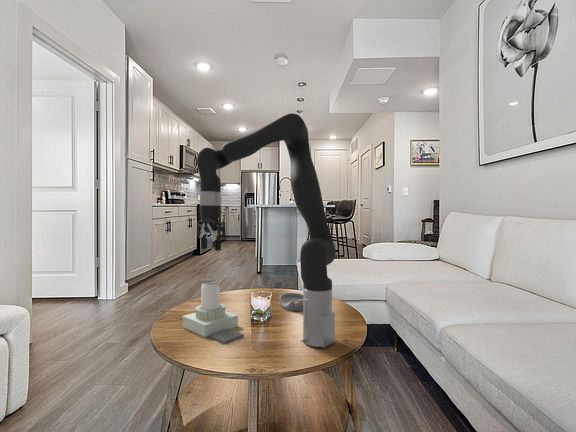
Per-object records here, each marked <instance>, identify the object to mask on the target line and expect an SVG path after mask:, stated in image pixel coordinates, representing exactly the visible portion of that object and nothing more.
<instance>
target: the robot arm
mask: <svg viewBox="0 0 576 432" xmlns="http://www.w3.org/2000/svg"><path fill="white" fill-rule="evenodd" d="M309 140H310V139H309V129H308V126H307V125H306V123H305V120H304V119H303V117H302V116H300V115H299V114H297V113H287V114H284V115H283V116H281V117H279V118H277V119H275V120H274V121H271V122H270V123H269V124H267V125H265V126H262V127H261V128H259V129H257V130H255V131H253V132H251V133H249V134H247V135H243V136H241V137H238V138H236V139H232V140H230V141H228V142H225V143H224V144H223V145H222V148H219V149H217V150H215V149H213V148H211V147H203V148H201V149H200V150H199V151H198V153H197V157H196V164H197V169H198V174H199V179H200V196H199V218H202V220H197V221H196V237H199V239H200V249H201V250H206V249H208V238H207V237H208V236H209V235H210V234H211V235H212V236H213V239H214V246H213V247H214V248H213V249H214V251H216V252H217V251H218V252H219V251H221V250H222V240H223V239H225V238H226V221H225V220H219V219H221V218H222V194H221V192H222V191H221V188H222V187H221V178H220V177H219V176H218V174H217V170H219V169H223V168H225V167H226V166H229V165H230V164H231V163H233V162H236V161H239V160H243V159H246V158H249V157H250V156H252V155H254V154H256V153H257V152H258V151H260V150H261V149H263V148H265V147H266V146H268V145H271V144H273V143H277V142H281V141H283V142H284V144H285V145H286V149H287V152H288V155H289V160H290V186H291V191H292V194H293V199H294V203H295V205H296V208H297V210H298V211H299V213H300V215H301V216H302V218H303V220H304V221H305V224H306V227H307V229H308V233H309V239H307V240H306V241H305V242H304V243H303V244H302V245H301V249H300V253H299V254H300V256H299V257H300V260H299V261H300V277H301V281H302V283H303V285H302V286H303V291H302V292H303V294H302V295H303V311H302V319H303V321H302V324H303V327H302V330H303V333H302V335H303V336H302V337H303V338H302V341H303V342H302V343H304V344H306V345H307V346H311V347H315V348H326V347H328V346H330V345H332V344H334V343H335V342H336V341H335V335H336V333H335V331H336V329H335V325H336V324H335V321H336V319H335V318H336V317H335V316H336V315H335V312H334V311H333V281H332V279H331V278H329V276H328V267H327V266H328V265H330V264H332V263H333V262H334V260H335V258H336V254H337V252H336V246H335V242H334V240H333V236H332V233H331V230H330V227H329V224H328V220H327V215H326V211H325V205H324V201H323V197H322V196H323V195H322V192H321V187H320V183H319V179H318V175H317V171H316V167H315V165H314V162H313V159H312V155H311V148H310V141H309Z"/></svg>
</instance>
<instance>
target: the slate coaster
mask: <svg viewBox="0 0 576 432" xmlns="http://www.w3.org/2000/svg"><path fill="white" fill-rule="evenodd" d="M244 336H245V335H244V333H242V332H239V331H238V330H237V331H236V330H234V329H233V328H231V329H229V328H228V329H225V330H222V331H219V332H216V333H213V334H210V335H209V336H208V338H210V339H212V340H215V341H217V342H218V343H221V344H222V345H223V344H224V345H225V344H227V343H231V342H233V341H236V340H239V339H241V338H243V337H244Z"/></svg>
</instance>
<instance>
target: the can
mask: <svg viewBox="0 0 576 432" xmlns="http://www.w3.org/2000/svg"><path fill="white" fill-rule="evenodd" d="M220 287H221V286H220V284H219V281H217V280H205V281H203V282H202V285H201V291H200V293H201V294H200V295H201V297H200V298H201V301H200V302H201V304H200V305H201V310H206V311H210V310H217V309H220V304H221V293H220V292H221V291H220V290H221V288H220Z"/></svg>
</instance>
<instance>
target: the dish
mask: <svg viewBox="0 0 576 432" xmlns="http://www.w3.org/2000/svg"><path fill="white" fill-rule="evenodd" d="M279 306H280V308H281V309H284V310H285V311H290V312H303V294H302V293H301V292H286V293H282V294H280V295H279Z"/></svg>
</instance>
